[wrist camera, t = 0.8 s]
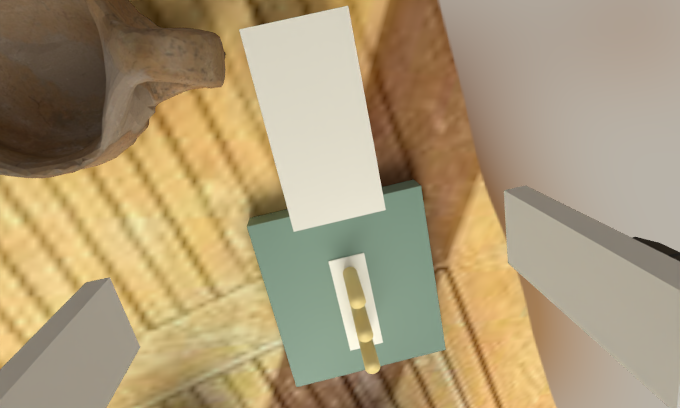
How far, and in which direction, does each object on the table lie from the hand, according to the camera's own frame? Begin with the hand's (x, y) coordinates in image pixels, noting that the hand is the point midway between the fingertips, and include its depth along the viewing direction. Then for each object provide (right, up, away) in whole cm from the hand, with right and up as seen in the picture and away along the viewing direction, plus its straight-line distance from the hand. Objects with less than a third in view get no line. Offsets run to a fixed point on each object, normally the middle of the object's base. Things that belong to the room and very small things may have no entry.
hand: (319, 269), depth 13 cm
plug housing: (-1, +9, +18) cm, 20 cm away
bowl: (-16, +13, +15) cm, 25 cm away
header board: (+2, -5, +22) cm, 23 cm away
